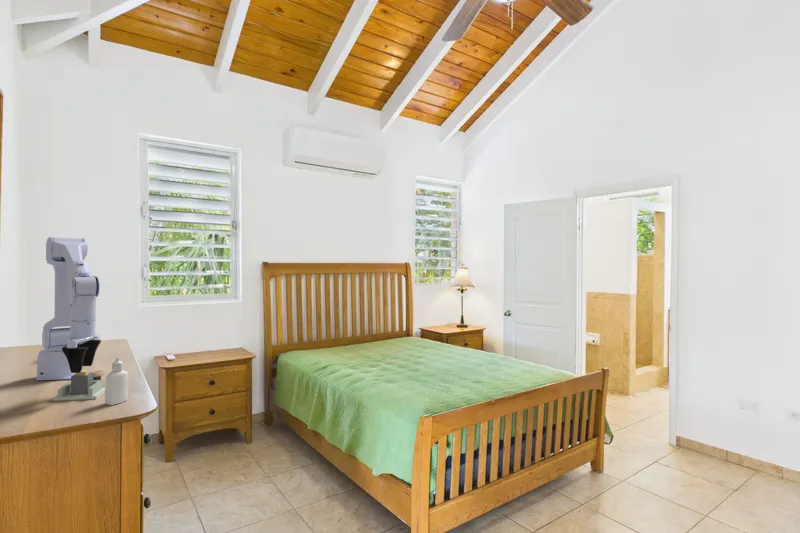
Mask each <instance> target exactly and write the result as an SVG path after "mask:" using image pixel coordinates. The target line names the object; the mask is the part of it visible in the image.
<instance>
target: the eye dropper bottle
mask: <svg viewBox="0 0 800 533" xmlns="http://www.w3.org/2000/svg"><path fill="white" fill-rule="evenodd" d="M104 386H105V387H104V388H105V392H104V396H105V397H104V404H105V405H107V406H114V405H115V404H116V405H119V404H122V403H125V402H126V401H128V399H129V372H128V371H126V370H124V362H123V361H121V360H120V357H119V356H117V357H115V361H113V362H112V365H111V371H110V372H109V373H108V374H106V375H105V383H104ZM124 401H125V402H124Z"/></svg>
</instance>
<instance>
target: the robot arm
mask: <svg viewBox="0 0 800 533" xmlns="http://www.w3.org/2000/svg"><path fill="white" fill-rule="evenodd" d="M88 247H89V245H88V241H87V240H86V238H76V237H73V238H72V237H53V236H49V237H48V238H47V239H46V243H45V260H46V263H47V264H48V265H51V266H52V267H53V271H54V317H53V318H51V319H49V321H47V322H45V323H44V325H43V326H42V335H41V336H42V337H41V343H42V348H43V349H41V350H40V351H39V352H38V355H37V361H36V378H35V381H52V380H53V381H54V380H57V381H58V380H71V376H73V375H75V374H76V373H80V372H81V370H83V367H92V365H93V363H94V360H95V355H96V352H97V350H98V347H99V346H100V344H101V342H102V339H101V335H100V334H99V335H98V334H97V331H96V319H97V318H96V316H97V314H96V313H97V312H96V310H97V297H99V295H100V286H101V285H100V279H99V277H98V276H96V275H93V273H92V271H91V267H90V265H89V264H88V263H87V262H86V261H84V260H85V259H86V257H87V256H88V252H89V250H88Z"/></svg>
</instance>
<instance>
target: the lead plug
mask: <svg viewBox="0 0 800 533" xmlns="http://www.w3.org/2000/svg"><path fill="white" fill-rule="evenodd" d="M89 372H90V369H82V370H81V372H80V373H76V374H75V375H73V376H71V379H70V382H71V395H81V394H88V388H89V387H91V386H92V385H93V373H89Z"/></svg>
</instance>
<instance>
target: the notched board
mask: <svg viewBox="0 0 800 533" xmlns="http://www.w3.org/2000/svg"><path fill="white" fill-rule="evenodd" d="M103 382H104V380H102V379H101V380H98V381H93V385H92V386H91V387H89V388H88V394H81V395H71V381H69V382H67V383H66V384H64V385H63V386H61V387H59V388H58V389H57V395H55V396H54V397H53V399H52V400H53V401H54V402H55V401H57V402H58V401H77V400H78V401H79V400H80V401H81V400H97V399H99V397H100V396H102V395H104V394H105V387H104V386H103Z"/></svg>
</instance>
